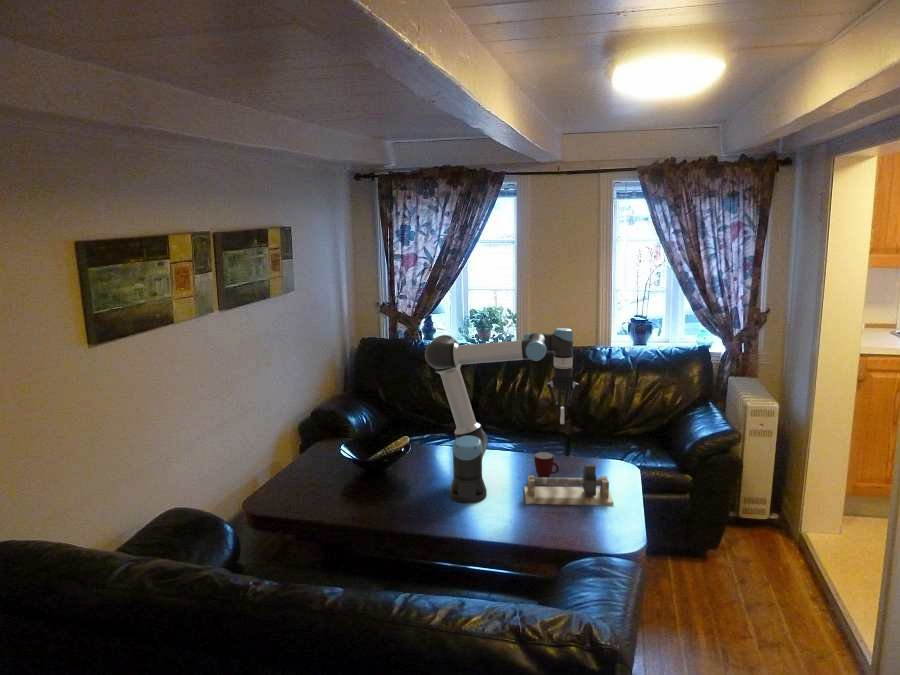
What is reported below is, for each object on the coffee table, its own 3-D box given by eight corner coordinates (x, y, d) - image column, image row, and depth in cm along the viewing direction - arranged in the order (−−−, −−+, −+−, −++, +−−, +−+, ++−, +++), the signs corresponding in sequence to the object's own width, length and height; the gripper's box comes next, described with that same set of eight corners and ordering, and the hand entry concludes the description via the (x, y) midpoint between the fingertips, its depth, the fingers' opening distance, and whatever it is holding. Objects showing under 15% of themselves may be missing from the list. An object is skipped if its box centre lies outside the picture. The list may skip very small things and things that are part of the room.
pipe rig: (525, 503, 249) (525, 484, 248) (524, 488, 263) (524, 470, 262) (613, 505, 246) (614, 485, 245) (607, 490, 260) (608, 471, 259)
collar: (585, 495, 250) (586, 469, 248) (583, 487, 258) (583, 461, 256) (595, 495, 249) (596, 469, 247) (593, 487, 257) (593, 461, 255)
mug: (560, 475, 276) (560, 453, 274) (557, 482, 268) (557, 460, 267) (536, 473, 279) (536, 451, 278) (532, 480, 272) (532, 457, 270)
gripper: (546, 368, 252) (546, 425, 256) (580, 369, 250) (579, 426, 255) (546, 364, 259) (545, 419, 263) (578, 364, 258) (577, 420, 262)
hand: (562, 423), depth 259 cm, fingers closed
